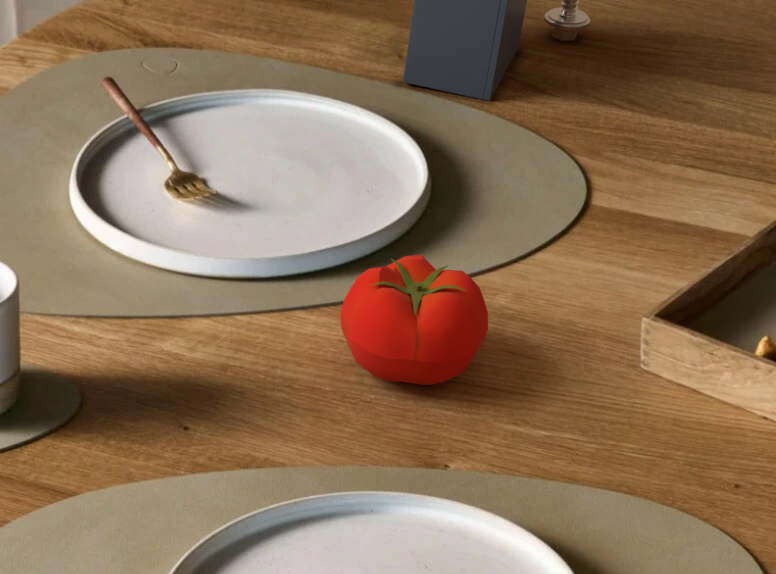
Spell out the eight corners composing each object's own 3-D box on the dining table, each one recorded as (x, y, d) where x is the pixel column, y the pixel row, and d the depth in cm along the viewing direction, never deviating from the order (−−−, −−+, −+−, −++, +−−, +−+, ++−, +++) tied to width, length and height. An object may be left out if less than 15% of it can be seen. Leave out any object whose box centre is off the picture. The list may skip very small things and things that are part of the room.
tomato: (497, 344, 118) (511, 260, 113) (450, 420, 110) (463, 333, 105) (369, 309, 121) (377, 225, 116) (315, 379, 113) (321, 294, 108)
